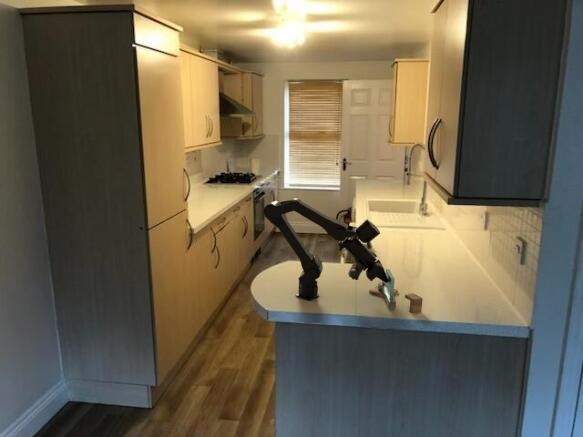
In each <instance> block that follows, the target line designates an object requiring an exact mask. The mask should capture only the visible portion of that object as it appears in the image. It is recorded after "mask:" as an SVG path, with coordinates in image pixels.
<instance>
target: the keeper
mask: <svg viewBox="0 0 583 437" xmlns="http://www.w3.org/2000/svg"><path fill="white" fill-rule="evenodd" d="M404 298H405V299H406V300H408V301H410V302H409V311H408V312H410V313H411V314H413V315H414V314H419V313H422V311H423V310H422V309H423V308H422V307H423V299H424V298H423V297H421V296H419V294H416V293H414V292H413V293H406V294H405V295H404Z"/></svg>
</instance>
